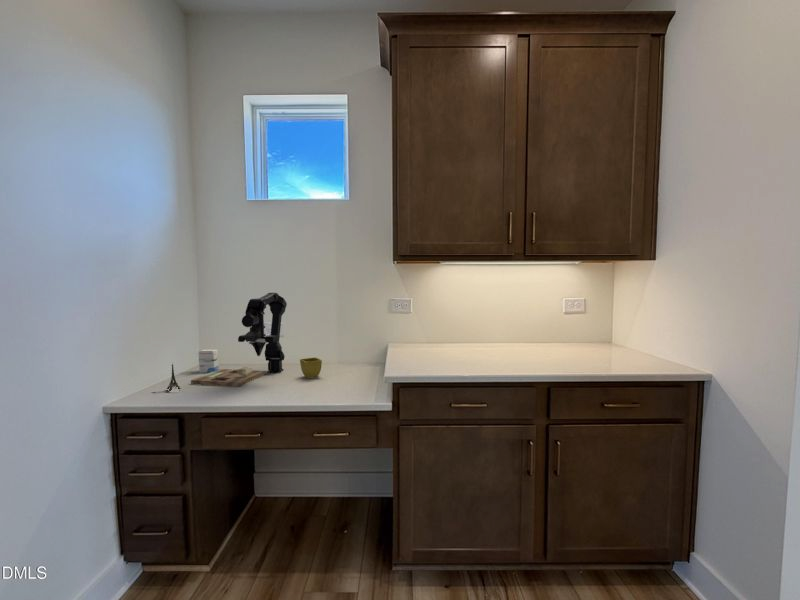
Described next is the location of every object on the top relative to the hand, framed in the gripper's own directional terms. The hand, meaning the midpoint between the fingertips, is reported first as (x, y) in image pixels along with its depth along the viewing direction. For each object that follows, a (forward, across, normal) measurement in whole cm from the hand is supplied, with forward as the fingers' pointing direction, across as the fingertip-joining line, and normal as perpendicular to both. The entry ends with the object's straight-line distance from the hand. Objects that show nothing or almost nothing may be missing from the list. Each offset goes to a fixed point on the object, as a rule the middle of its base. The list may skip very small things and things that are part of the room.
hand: (258, 355), depth 204 cm
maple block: (+10, -8, 0) cm, 13 cm away
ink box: (+13, -38, +13) cm, 42 cm away
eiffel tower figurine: (+13, -31, -21) cm, 40 cm away
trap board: (+12, -16, 0) cm, 21 cm away
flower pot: (+13, +22, +11) cm, 28 cm away
